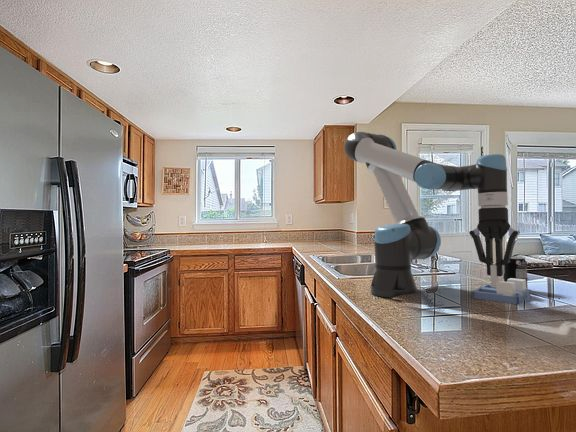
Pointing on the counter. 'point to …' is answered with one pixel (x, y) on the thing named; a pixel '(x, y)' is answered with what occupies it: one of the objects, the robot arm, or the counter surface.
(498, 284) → the white block
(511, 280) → the tab far
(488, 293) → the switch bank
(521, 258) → the beverage can
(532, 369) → the counter surface
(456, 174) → the robot arm
